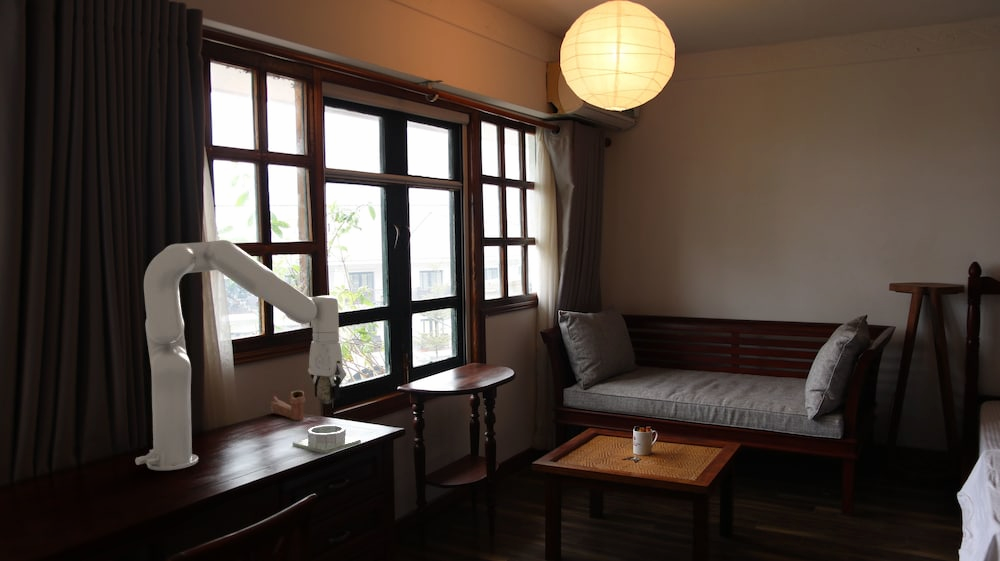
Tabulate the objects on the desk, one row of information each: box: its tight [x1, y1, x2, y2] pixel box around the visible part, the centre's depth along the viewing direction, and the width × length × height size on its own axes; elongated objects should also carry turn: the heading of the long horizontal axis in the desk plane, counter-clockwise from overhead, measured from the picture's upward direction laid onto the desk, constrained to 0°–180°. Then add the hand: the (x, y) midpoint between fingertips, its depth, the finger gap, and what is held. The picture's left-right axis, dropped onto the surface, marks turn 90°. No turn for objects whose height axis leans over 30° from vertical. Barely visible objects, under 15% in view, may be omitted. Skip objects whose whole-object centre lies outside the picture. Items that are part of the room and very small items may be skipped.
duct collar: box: [292, 424, 362, 454], centre depth 214 cm, size 14×14×4 cm
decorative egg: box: [317, 376, 336, 405], centre depth 213 cm, size 6×6×10 cm
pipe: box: [270, 390, 306, 421], centre depth 248 cm, size 5×18×10 cm, turn 48°
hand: (327, 396), depth 214 cm, fingers closed on decorative egg, 6 cm apart
